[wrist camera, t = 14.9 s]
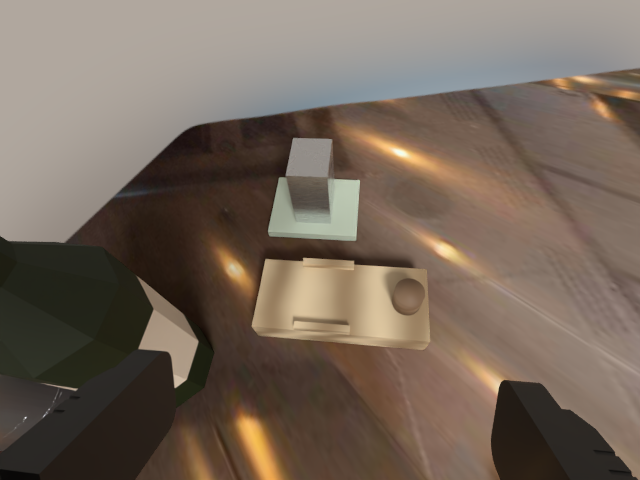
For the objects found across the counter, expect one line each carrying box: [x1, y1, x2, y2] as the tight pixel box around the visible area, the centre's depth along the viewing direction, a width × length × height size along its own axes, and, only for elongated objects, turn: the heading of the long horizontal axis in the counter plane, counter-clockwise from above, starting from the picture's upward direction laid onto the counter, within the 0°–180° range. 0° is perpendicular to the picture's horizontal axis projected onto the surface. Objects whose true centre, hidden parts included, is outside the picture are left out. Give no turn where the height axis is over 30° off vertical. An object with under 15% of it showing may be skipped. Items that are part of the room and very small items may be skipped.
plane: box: [252, 258, 430, 350], centre depth 34 cm, size 16×7×5 cm, turn 84°
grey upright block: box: [286, 138, 335, 224], centre depth 38 cm, size 4×6×8 cm
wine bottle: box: [0, 237, 214, 408], centre depth 22 cm, size 8×8×30 cm
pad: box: [268, 177, 360, 241], centre depth 42 cm, size 10×8×1 cm
